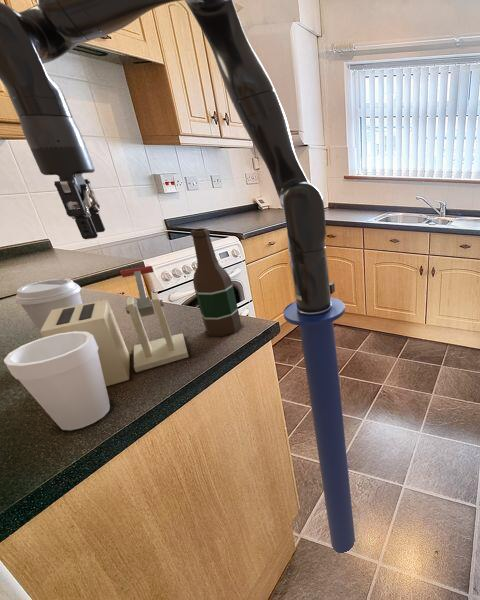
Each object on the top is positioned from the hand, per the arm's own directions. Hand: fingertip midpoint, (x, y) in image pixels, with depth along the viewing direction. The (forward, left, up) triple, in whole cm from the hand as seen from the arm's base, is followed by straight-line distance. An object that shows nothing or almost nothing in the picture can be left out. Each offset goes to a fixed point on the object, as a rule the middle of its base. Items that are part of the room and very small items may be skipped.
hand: (95, 235), depth 67 cm
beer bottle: (-8, +17, -24) cm, 31 cm away
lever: (+1, +7, -12) cm, 14 cm away
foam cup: (+22, +14, -24) cm, 36 cm away
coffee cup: (+6, -9, -24) cm, 26 cm away
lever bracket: (+4, +11, -24) cm, 27 cm away
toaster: (+12, +6, -24) cm, 28 cm away
